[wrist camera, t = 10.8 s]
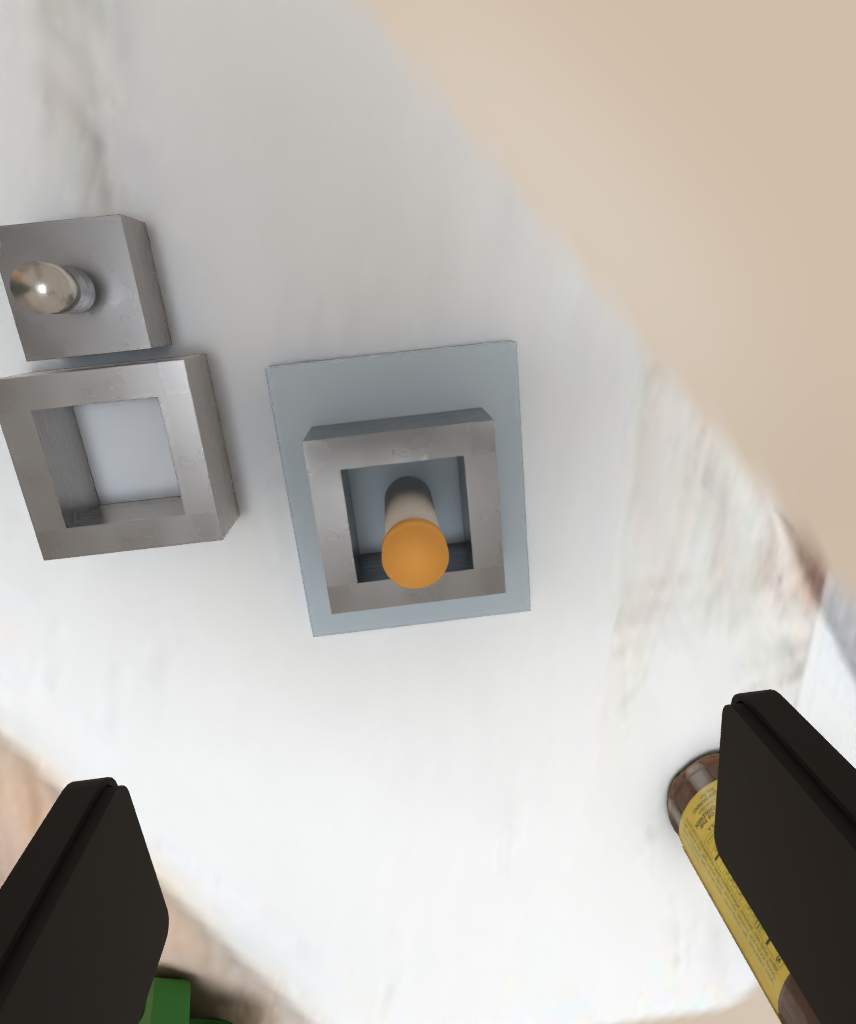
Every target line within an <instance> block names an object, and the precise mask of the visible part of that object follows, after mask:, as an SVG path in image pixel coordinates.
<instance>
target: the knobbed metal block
mask: <svg viewBox="0 0 856 1024" xmlns="http://www.w3.org/2000/svg"><path fill="white" fill-rule="evenodd" d="M0 272H1V276H2V279H3V282H4V286H5V289H6V293H7V296H8V299H9V303H10V306H11V310H12V313H13V316H14V320H15V323H16V326H17V330H18V333H19V337H20V340H21V343H22V347H23V350H24V353H25V357H26V360H27V361H36V360H45V359H55V358H64V357H74V356H83V355H92V354H102V353H111V352H121V351H130V350H140V349H149V348H155V347H161V346H166V345H172V342H171V338H170V333H169V329H168V324H167V320H166V315H165V311H164V306H163V302H162V297H161V293H160V288H159V284H158V279H157V275H156V270H155V266H154V261H153V257H152V252H151V248H150V243H149V239H148V235H147V230H146V226H145V223H143V222H140V221H138V220H135V219H132V218H129V217H126V216H123V215H120V214H118V215H108V216H98V217H88V218H77V219H67V220H57V221H47V222H37V223H27V224H17V225H7V226H0Z"/></svg>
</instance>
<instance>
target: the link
mask: <svg viewBox="0 0 856 1024" xmlns="http://www.w3.org/2000/svg"><path fill="white" fill-rule="evenodd" d="M150 397H158V400H159V404H160V408H161V412H162V417H163V421H164V425H165V429H166V434H167V438H168V442H169V446H170V451H171V455H172V459H173V463H174V468H175V472H176V476H177V480H178V485H179V489H180V493H181V496H176V497H167V498H158V499H150V500H141V501H132V502H123V503H114V504H106V505H99V501H98V498H97V494H96V490H95V487H94V483H93V480H92V476H91V473H90V469H89V465H88V462H87V458H86V455H85V451H84V448H83V444H82V440H81V437H80V433H79V430H78V426H77V423H76V419H75V415H74V412H73V408H72V406H76V405H86V404H95V403H104V402H113V401H123V400H132V399H141V398H150ZM0 424H1V427H2V430H3V433H4V436H5V439H6V443H7V446H8V449H9V452H10V455H11V458H12V461H13V465H14V468H15V471H16V474H17V477H18V480H19V483H20V486H21V490H22V493H23V496H24V499H25V502H26V505H27V508H28V512H29V515H30V518H31V521H32V524H33V527H34V530H35V534H36V537H37V540H38V543H39V546H40V549H41V552H42V555H43V559H44V560H53V559H61V558H70V557H79V556H87V555H96V554H104V553H113V552H122V551H130V550H139V549H147V548H156V547H165V546H173V545H182V544H190V543H199V542H207V541H216V540H223V539H224V537H225V536H226V534H227V533H228V531H229V530H230V528H231V527H232V526H233V524H234V523H235V521H236V520H237V518H238V517H239V512H238V507H237V503H236V498H235V493H234V488H233V483H232V478H231V474H230V469H229V464H228V459H227V454H226V449H225V445H224V440H223V435H222V430H221V425H220V420H219V416H218V411H217V406H216V401H215V396H214V391H213V387H212V382H211V377H210V372H209V367H208V362H207V358H206V354H200V355H190V356H181V357H172V358H162V359H153V360H143V361H134V362H125V363H115V364H106V365H97V366H87V367H78V368H69V369H59V370H50V371H40V372H31V373H26V374H21V375H15V376H10V377H4V378H0Z"/></svg>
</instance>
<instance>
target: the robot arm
mask: <svg viewBox="0 0 856 1024" xmlns="http://www.w3.org/2000/svg"><path fill="white" fill-rule="evenodd" d="M714 840H715V845H716V848H717V851H718V854H719V856H720V858H721V860H722V862H723V863H724V865H725V867H726V868H727V870H728V872H729V873H730V875H731V877H732V878H733V880H734V882H735V883H736V885H737V887H738V888H739V890H740V891H741V893H742V895H743V896H744V898H745V900H746V901H747V903H748V905H749V906H750V908H751V910H752V911H753V913H754V914H755V916H756V918H757V919H758V921H759V923H760V924H761V926H762V928H763V929H764V931H765V933H766V934H767V936H768V938H769V939H770V941H771V942H772V944H773V946H774V947H775V949H776V951H777V952H778V954H779V956H780V957H781V959H782V961H783V962H784V964H785V966H786V967H787V969H788V970H789V972H790V974H791V975H792V977H793V979H794V980H795V982H796V984H797V985H798V987H799V989H800V990H801V992H802V993H803V995H804V997H805V998H806V1000H807V1002H808V1003H809V1005H810V1007H811V1008H812V1010H813V1012H814V1013H815V1015H816V1017H817V1018H818V1020H819V1021H820V1023H821V1024H856V769H855V768H854V767H853V766H852V765H851V764H850V763H849V762H848V761H847V760H846V759H845V758H844V757H843V756H842V755H841V754H840V753H839V752H838V751H837V750H836V749H835V748H834V747H833V746H832V745H831V744H830V743H829V742H828V741H827V740H826V739H825V738H824V737H823V736H822V735H821V734H820V733H819V732H818V731H817V730H816V729H815V728H814V727H813V726H812V725H811V724H810V723H809V722H808V721H807V720H806V719H805V718H804V717H803V716H802V715H801V714H800V713H799V712H798V711H797V710H796V709H795V708H794V707H793V706H792V705H791V704H790V703H789V702H788V701H787V700H786V699H785V698H784V697H783V696H782V695H781V694H779V693H778V692H777V691H775V690H771V689H770V690H762V691H755V692H747V693H739V694H736V695H734V697H733V698H732V702H731V704H730V705H726V706H724V708H723V712H722V724H721V738H720V752H719V766H718V781H717V795H716V809H715V823H714ZM168 927H169V916H168V910H167V907H166V904H165V901H164V898H163V894H162V891H161V888H160V885H159V882H158V879H157V876H156V873H155V870H154V867H153V864H152V861H151V858H150V855H149V852H148V848H147V845H146V842H145V839H144V836H143V833H142V830H141V827H140V824H139V821H138V818H137V815H136V812H135V809H134V806H133V803H132V799H131V796H130V793H129V791H128V789H127V787H125V786H122V785H121V786H118V785H117V783H116V781H115V780H114V779H113V778H111V777H105V778H98V779H90V780H83V781H75V782H71V783H69V784H68V785H67V786H66V787H65V788H64V789H63V791H62V792H61V794H60V796H59V797H58V799H57V800H56V802H55V803H54V805H53V807H52V808H51V810H50V811H49V813H48V814H47V816H46V818H45V819H44V821H43V822H42V824H41V826H40V827H39V829H38V830H37V832H36V833H35V835H34V837H33V838H32V840H31V841H30V843H29V844H28V846H27V848H26V849H25V851H24V852H23V854H22V855H21V857H20V859H19V860H18V862H17V863H16V865H15V866H14V868H13V870H12V871H11V873H10V874H9V876H8V878H7V879H6V881H5V882H4V884H3V885H2V887H1V889H0V1024H139V1021H140V1018H141V1015H142V1012H143V1009H144V1006H145V1003H146V1000H147V997H148V994H149V991H150V988H151V985H152V982H153V978H154V975H155V972H156V969H157V966H158V963H159V960H160V957H161V954H162V951H163V948H164V945H165V942H166V938H167V934H168Z"/></svg>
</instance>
